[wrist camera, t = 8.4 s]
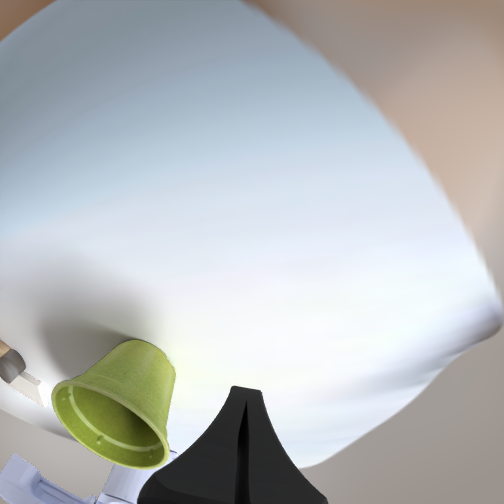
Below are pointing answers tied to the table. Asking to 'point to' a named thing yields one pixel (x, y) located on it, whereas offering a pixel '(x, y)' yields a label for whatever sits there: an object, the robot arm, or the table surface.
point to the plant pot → (121, 406)
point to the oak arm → (10, 363)
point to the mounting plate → (30, 388)
